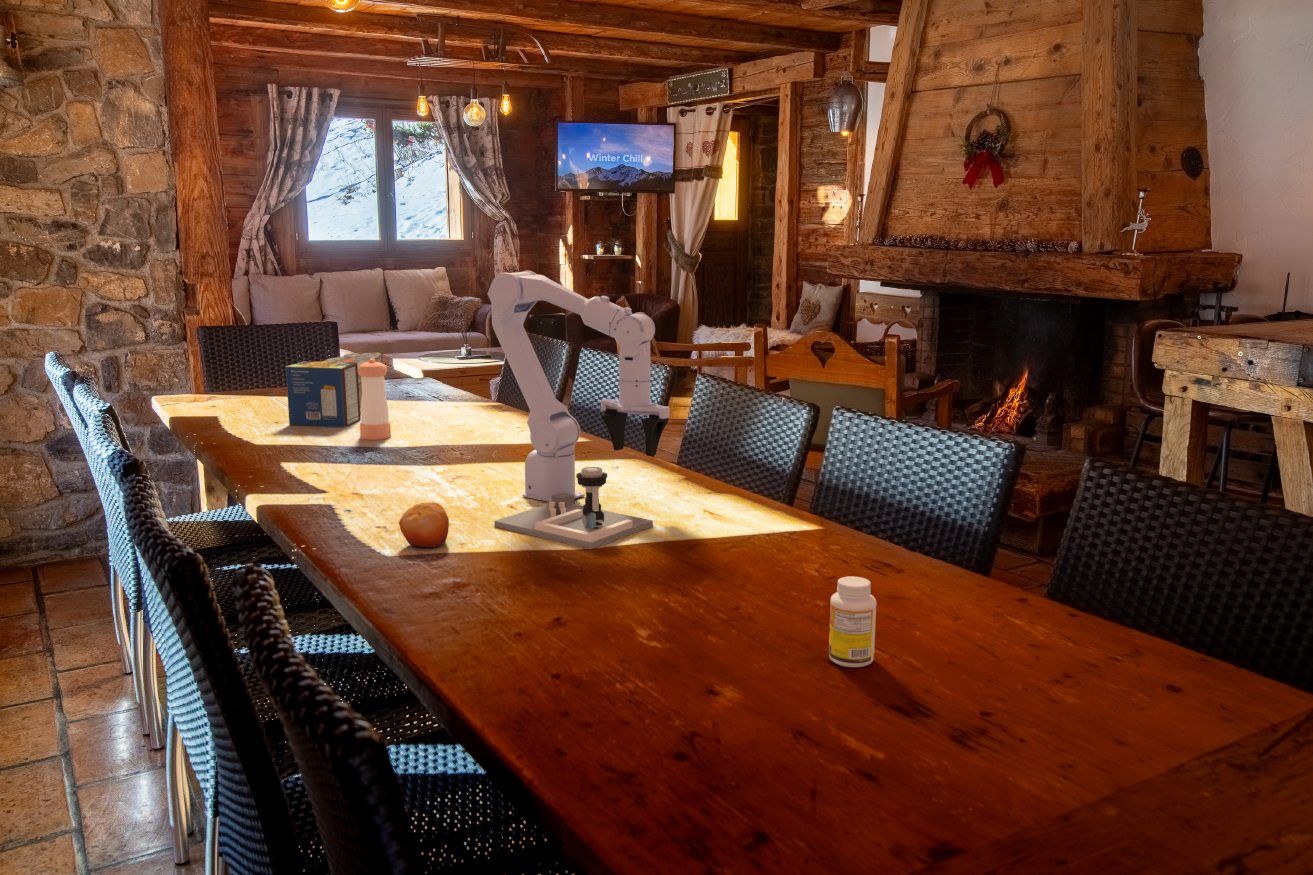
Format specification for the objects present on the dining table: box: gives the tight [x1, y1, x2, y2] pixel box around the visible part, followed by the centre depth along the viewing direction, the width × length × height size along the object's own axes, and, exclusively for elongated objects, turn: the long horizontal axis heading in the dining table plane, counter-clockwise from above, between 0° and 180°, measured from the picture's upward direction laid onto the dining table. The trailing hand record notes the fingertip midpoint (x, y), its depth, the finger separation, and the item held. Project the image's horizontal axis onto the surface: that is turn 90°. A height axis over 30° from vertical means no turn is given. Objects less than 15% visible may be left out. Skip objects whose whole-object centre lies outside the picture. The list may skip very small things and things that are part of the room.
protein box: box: [285, 360, 361, 428], centre depth 283 cm, size 10×15×16 cm
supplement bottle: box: [828, 575, 877, 668], centre depth 133 cm, size 6×6×10 cm
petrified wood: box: [321, 352, 383, 409], centre depth 308 cm, size 19×17×15 cm
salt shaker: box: [358, 359, 392, 441], centre depth 265 cm, size 7×7×19 cm
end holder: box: [535, 509, 632, 543], centre depth 186 cm, size 12×11×1 cm
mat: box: [493, 503, 654, 550], centre depth 191 cm, size 22×17×1 cm
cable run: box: [548, 493, 576, 517], centre depth 198 cm, size 4×11×2 cm, turn 175°
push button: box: [575, 466, 608, 529], centre depth 186 cm, size 7×5×10 cm
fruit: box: [398, 501, 450, 549], centre depth 180 cm, size 8×8×8 cm
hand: (634, 452), depth 202 cm, fingers open, 7 cm apart
